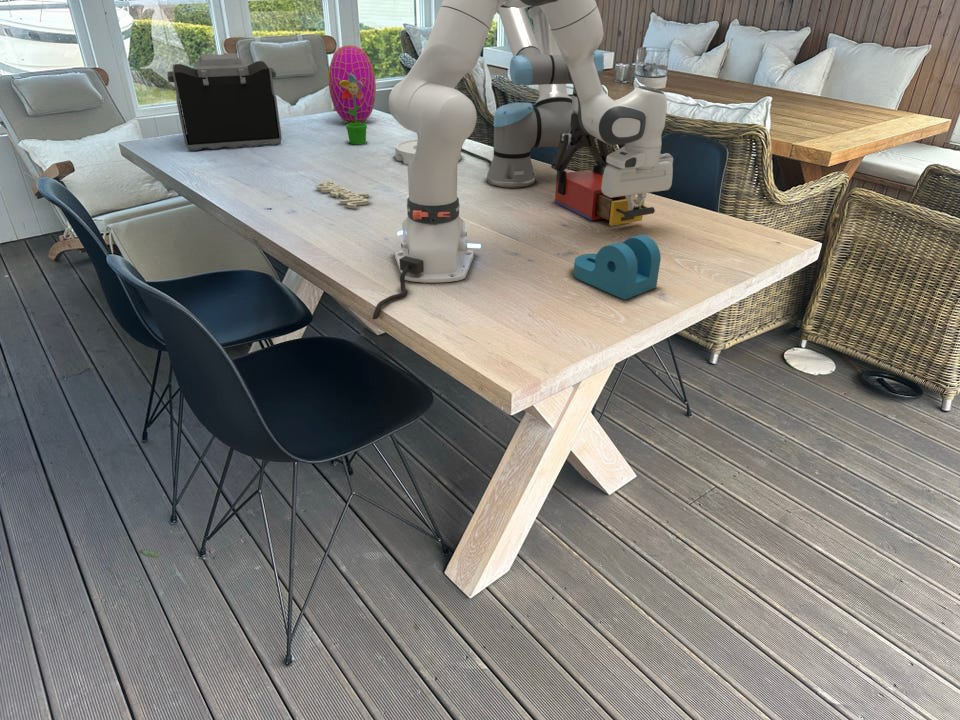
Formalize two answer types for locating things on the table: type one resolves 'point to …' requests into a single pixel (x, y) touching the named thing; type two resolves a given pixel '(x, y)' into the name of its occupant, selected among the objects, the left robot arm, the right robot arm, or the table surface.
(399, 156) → the ashtray
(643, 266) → the camera mount
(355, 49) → the decorative egg
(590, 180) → the red case
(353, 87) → the potted flower
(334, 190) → the decorative sign
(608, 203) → the drawer
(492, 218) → the table surface
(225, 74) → the electronic device
